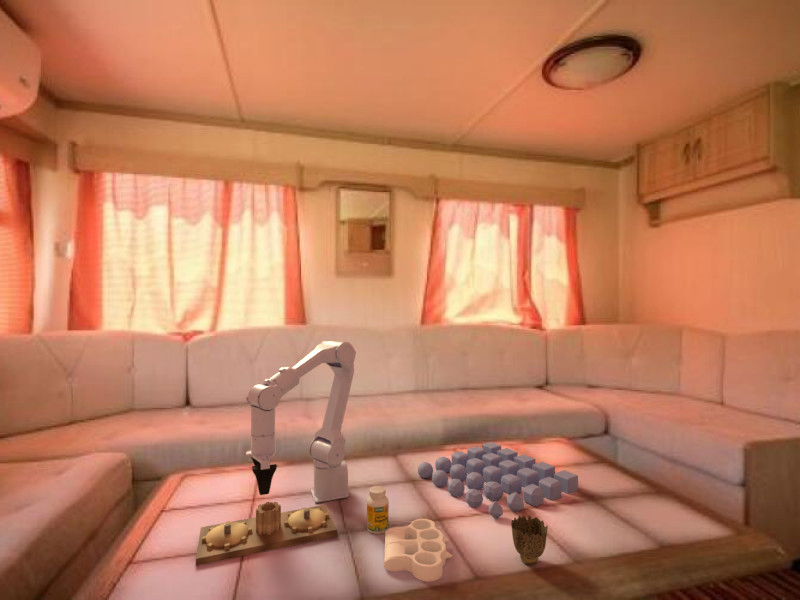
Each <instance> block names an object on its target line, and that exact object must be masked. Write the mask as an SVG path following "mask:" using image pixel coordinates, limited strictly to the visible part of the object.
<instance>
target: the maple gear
mask: <svg viewBox="0 0 800 600" xmlns="http://www.w3.org/2000/svg"><path fill="white" fill-rule="evenodd" d="M281 506H282V505H281V504H279V502H277V501H274V502H273V501H272V502H270V501H266V502H265V503H260V504H258V505H257V508H255V517H256V532H258V534H260V535H262V534H267V535H270V534H271V533H274V532H277V531H278V530H279V527H281V513H282V510H281V509H282V507H281Z"/></svg>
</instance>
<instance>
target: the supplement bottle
mask: <svg viewBox="0 0 800 600" xmlns="http://www.w3.org/2000/svg"><path fill="white" fill-rule="evenodd" d="M368 495H369V496H367V499H366V529H367V531H368V532H369V533H371V534H374V535H379V534H385V531H386V530H388V529H389V526H390V525H389V524H390V523H389V519H390V518H389V517H390V516H389V515H390V514H389V512H390V511H389V507H390V506H389V503H390V501H389V498H388V496H386V487H384V486H382V485H374V486H371V487H370V488H369V493H368Z"/></svg>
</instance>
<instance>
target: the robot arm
mask: <svg viewBox="0 0 800 600" xmlns="http://www.w3.org/2000/svg"><path fill="white" fill-rule="evenodd" d="M356 354H357V351H356V350H355V348H354V346H353V345H352V343H351V342H349V341H335V340H334V341H333V340H330V339H326V340H325V339H324V341H321V343H319V344H317V345H316V346H315V348H314V349H313V350H311V351H310V353H308V354H307V355H306V356H305V357H303V358H302V359H301V360H300V361H298V362H297V363H296V364H295V365H294V366H292V367H290V366H285V367H280V368H279V369H278V372H277V373H274V375H272V376H271V377H269V378H266V379H264V380H263V383H262V384H261V383H260V384H259V383H258V384H255V385H253V386H252V387H251V388H250V390H249V391H248V394H247V395H246V396H245V397H246V402H247V404H248V406H250V450H248V451H246V452H245V456H246V457H248V458H249V457H250V459H251V460H252V462H253V465H252V466H251V469H252V473H253V474H254V476H255V478H256V483H257V488H258V493H259V496H265V495H269V494H270V490H271V487H272V482H273V481H272V480H273V477H274V474H275V472H276V471H277V468H278V465H277V463H275V464H271V460H272V459H273V458H274V456H275V454H276V453H277V450H276V408H277V407H278V405H279V403H280V401H281V399H282V398H283V397H284V396H285V395H286V394H287V393H289V392H290V391H291V390H293V389H294V388H295V387H297V386H299V384H300V380H301V378H302V377H303V376H305V375H306V374H308V373H310V372H311V371H312V370H314V369H316V368H317V367H319V366H320V365H322V364H326V365H327V366H329V368H330V369H331V370H332V372H333V374H334V375H333V380H332V383H331V384H332V385H331V387H330V394H329V397H328V402H327V405H326V410H325V414H324V418H323V422H322V427H321V428H320V429H318V430H317V431H316V432H315V433H314V436H313V439H312V441H311V442H310V444H309V447H308V454H309V457H310V458H312V463H313V488H311V489H310V492H311V495H312V498H313V501H314V503H316V504H319V503H322V502H327V501H333V500H334V501H335V500H339V499H346V498H349V471H348V470H349V469H348V464H347V462H346V461H345V460H344V458H345V456H346V449H345V447H346V446H345V445H346V438H345V437H344V434H343V433H342V428H343V427H342V426H343V422H344V417H345V413H346V408H347V405H348V400H349V396H350V392H351V386H352V383H353V379H354V375H355V374H354V373H355V359H356Z"/></svg>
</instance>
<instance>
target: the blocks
mask: <svg viewBox="0 0 800 600" xmlns="http://www.w3.org/2000/svg"><path fill="white" fill-rule="evenodd" d="M466 451H467V452H464V451H462V450H461V451H460V450H459V451H456V452H453V453H452V454H451V459H450V458H448V457H447V456H440V457H438V458H436V460H435V462H434V463H435V466H434V467H435V471H434V468H433V466H432V464H431V463H429V462H427V461H423V462H421V463H420V464H419V465H418V468H417V474H418V475H419V477H420V478H422V479H429V478H431V480H432V484H433V485H434V486H435V487H437V486H438V488H443V487H446V485H448V486H447V490H448V493H449V494H450V496H453V497H454V498H455V497H456V498H458V497H457V496H459V497H461V496H463V494H464V493H465V485H466V487H467V488H468V490H467V491H466V493H465V497H464V498H465V501H466V502H465V503H466V504H467V505H468V506H469V507H473V508H480V507H481V505H482V504H483V502H484V497H485V498H486V499H487V500H488V499H489V500H488V501H491V502H492V503H491V504H490V505H488V514H490V516H491V517H493V519H499V518H501V516H503V515H504V512H503V511H504V509H503V507H502V506H501V504H499V503H498V501H500V500H501V499H502V498H503V495H504V493H505V494H507V495H508V496H507V497H506V505H507V508H509V509H510V511H513V512H515V513H518V512H520V511H521V510H524V508H525V504H524V503H526V504H528V505H530V506H533V507H537V506H539V505H542V504H543V503H544V502H545V498H546V499H548V500H549V501H555V500H557V499H560V498H562V496H563V495H562V493H564V494H566V495H570V494H573V493H575V492H577V491H579V476H578V475H577V474H575V473H574V472H570V471H567V470H564V469H563V470H560V471H557V472H556V466H555V465H552V464H549V463H547V462H544V461H540V462H537V463H536V458H534V457H531V456H528V455H526V454H521V455H518V453H519V452H518V451H516V450H513V449H511V448H508V447H506V448H502V445H500V444H498V443H495V442H493V441H490V442H485V443H482V444H481V447H479V446H478V445H477V446H473V447H470V448H469V447H468V448H467V450H466ZM448 472H449V476H450V478H451V480H450V481H449V477H448ZM467 473H468V474H467ZM482 475H483V476H482ZM463 482H465V483H466V484H464V483H463ZM485 482H486V483H485ZM482 489H483V494H484V496H483V494H482V492H481V490H482ZM522 490H523V491H522ZM522 492H523V493H522ZM521 493H522V496H521V495H520V494H521Z"/></svg>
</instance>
